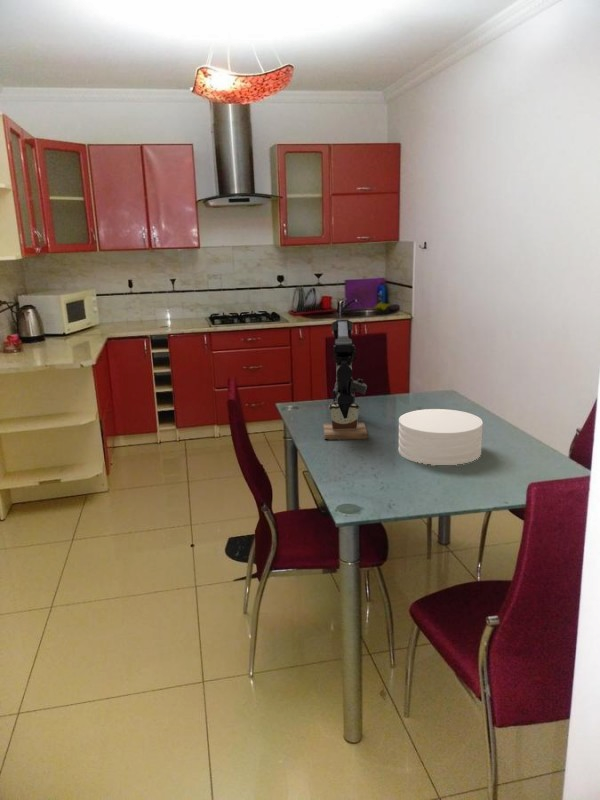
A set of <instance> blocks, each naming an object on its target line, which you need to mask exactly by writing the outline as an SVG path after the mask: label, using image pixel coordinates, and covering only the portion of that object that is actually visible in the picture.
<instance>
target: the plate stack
mask: <svg viewBox="0 0 600 800" xmlns="http://www.w3.org/2000/svg"><path fill="white" fill-rule="evenodd" d="M483 425H484V424H483V420H482V418H480V417H479V416H477V415H475V414H472V413H470V412H465V411H461V410H455V409H445V408H443V409H442V408H428V409H425V408H424V409H417V410H412V411H409V412H406V413H404V414H402V415H400V416H399V418H398V453H399V455H400V456H402V457H403V458H404V459H407V460H409V461H412V462H413V463H417V462H418V463H417V464H421V463H423V464H422V465H427V464H431V465H430V466H435V465H456V466H458V465H457V464H463V463H468V462H471V461H474V460H476V459H477V460H479V459H480V458H481V456H480V455H482V447H483V446H482V445H483V443H482V440H483V436H482V435H483ZM479 457H480V458H479ZM478 458H479V459H478ZM477 460H476V461H477ZM474 462H475V461H474ZM471 463H472V462H471ZM468 464H469V463H468ZM463 465H464V464H463Z"/></svg>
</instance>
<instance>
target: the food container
mask: <svg viewBox="0 0 600 800" xmlns="http://www.w3.org/2000/svg"><path fill="white" fill-rule="evenodd" d="M360 410H361V405H360V403H359V402H357V401H354V403H353V404H351V405H350V407H349V411H348V415H347V418H345V419H344V417H343V415H342V412H341V410H340V408H339V405H338V403H337V401H335V402H333V401H332V402H331V403H329V405H328V411H329V412H330V421H331V424H332V430H350V429H357V424H358V423H359V422H358V421H359V413H360Z"/></svg>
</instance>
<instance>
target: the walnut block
mask: <svg viewBox="0 0 600 800" xmlns="http://www.w3.org/2000/svg"><path fill="white" fill-rule="evenodd" d="M322 426H323V435H324V437H325V438H324V437H323V438H324V440H325V439H329V440H328V441H331V440H330V439H338V440H339V441H340V440H341V439H342V440H365V439H366V440H368V431H367V428H366V425H365V422H358V424H357V429H350V430H332V423H323V425H322ZM338 440H337V441H338Z"/></svg>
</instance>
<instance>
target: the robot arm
mask: <svg viewBox="0 0 600 800" xmlns="http://www.w3.org/2000/svg"><path fill="white" fill-rule="evenodd" d="M353 326H354V323H353V322H352V321H350V320H349V319H348V318H337V319H336V321H335V320H334V321H333V322H331V334H333V338H334V344H335V345H334V344H333V363H335V365H336V366H335V367H336V376H335V379H336V380H335V381H336V382H335V384H334V388H332V393H333V397H332V399H333V401H332V402H335V401H337V403H338V405H339V408H340V410H341V412H342V415H343V417H344V419H345V418H347V415H348V411H349V407H350V405H351V404H353V403H354V401H355V400H356V393H359V394H360V395H365V394H366V391H367V388H368V386H367V384H366V383H364V380H363V379H362V378H358V379H357V380H354V379H353V368H352V367H353V366H352V363H355V362H356V360H357V353H356V352H357V349H356V346H355V344H353V340H352V338H351V337H352V334H353V333H354V332H353V331H354V330H353V329H354V327H353ZM355 392H356V393H355ZM355 402H356V401H355Z"/></svg>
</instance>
